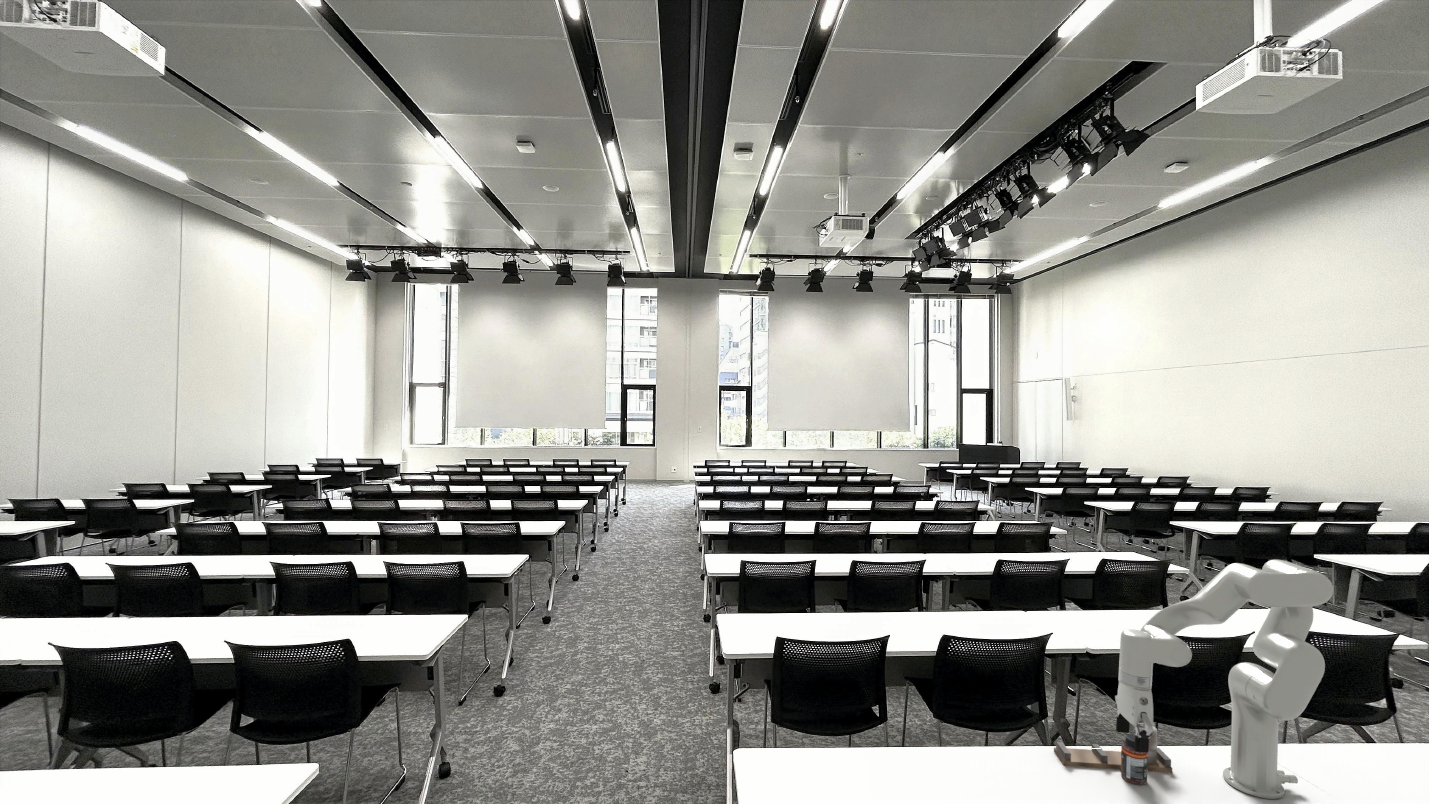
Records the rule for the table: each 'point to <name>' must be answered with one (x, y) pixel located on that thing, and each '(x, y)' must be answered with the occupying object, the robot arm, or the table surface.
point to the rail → (1112, 756)
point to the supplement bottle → (1133, 762)
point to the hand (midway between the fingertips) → (1131, 741)
